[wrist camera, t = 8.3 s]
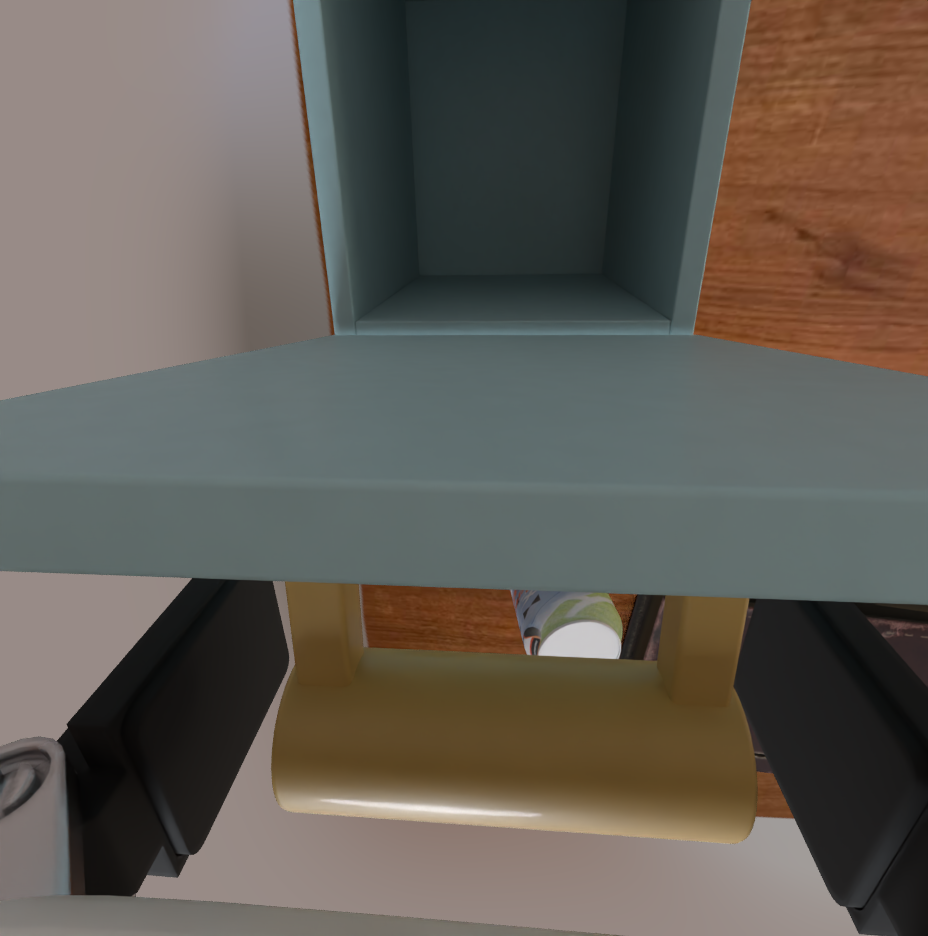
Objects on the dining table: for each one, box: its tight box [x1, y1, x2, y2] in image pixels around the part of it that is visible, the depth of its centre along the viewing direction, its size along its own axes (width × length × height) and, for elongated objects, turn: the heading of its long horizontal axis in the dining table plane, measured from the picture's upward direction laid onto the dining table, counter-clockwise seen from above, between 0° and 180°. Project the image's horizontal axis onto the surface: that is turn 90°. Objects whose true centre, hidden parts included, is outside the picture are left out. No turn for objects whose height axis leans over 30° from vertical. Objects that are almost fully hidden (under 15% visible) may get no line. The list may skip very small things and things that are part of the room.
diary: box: [619, 594, 928, 773], centre depth 42 cm, size 19×25×5 cm
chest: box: [293, 0, 751, 335], centre depth 22 cm, size 15×13×16 cm
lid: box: [0, 335, 928, 844], centre depth 11 cm, size 15×13×5 cm
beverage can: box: [511, 590, 622, 659], centre depth 35 cm, size 6×7×12 cm
